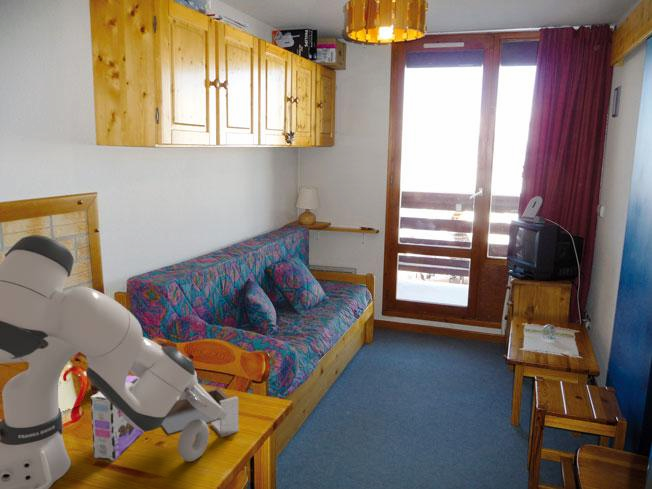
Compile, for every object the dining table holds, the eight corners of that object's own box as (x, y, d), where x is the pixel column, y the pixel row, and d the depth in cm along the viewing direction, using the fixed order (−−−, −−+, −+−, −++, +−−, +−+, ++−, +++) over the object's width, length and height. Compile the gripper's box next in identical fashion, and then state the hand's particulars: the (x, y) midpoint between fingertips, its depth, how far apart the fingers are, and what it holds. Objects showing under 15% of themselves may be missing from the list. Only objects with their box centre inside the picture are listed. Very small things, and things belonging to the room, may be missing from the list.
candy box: (114, 461, 131) (110, 399, 128) (93, 458, 132) (88, 396, 129) (144, 432, 145) (141, 375, 141) (124, 429, 146) (121, 372, 142)
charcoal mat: (168, 434, 144) (168, 433, 143) (156, 418, 152) (156, 417, 152) (230, 416, 154) (230, 415, 154) (216, 402, 162) (216, 401, 162)
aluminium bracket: (238, 431, 146) (238, 397, 144) (221, 437, 143) (220, 402, 141) (227, 420, 152) (227, 387, 150) (211, 425, 149) (210, 391, 147)
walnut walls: (168, 434, 144) (167, 421, 143) (155, 416, 153) (154, 403, 152) (234, 415, 154) (234, 402, 154) (218, 399, 163) (218, 387, 163)
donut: (201, 446, 139) (200, 410, 137) (212, 449, 137) (211, 413, 135) (175, 467, 130) (174, 429, 128) (187, 471, 128) (185, 432, 126)
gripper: (202, 387, 126) (241, 415, 133) (174, 358, 142) (210, 383, 150) (184, 410, 124) (225, 436, 131) (158, 377, 141) (195, 402, 148)
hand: (216, 408), depth 141 cm, fingers open, 8 cm apart
